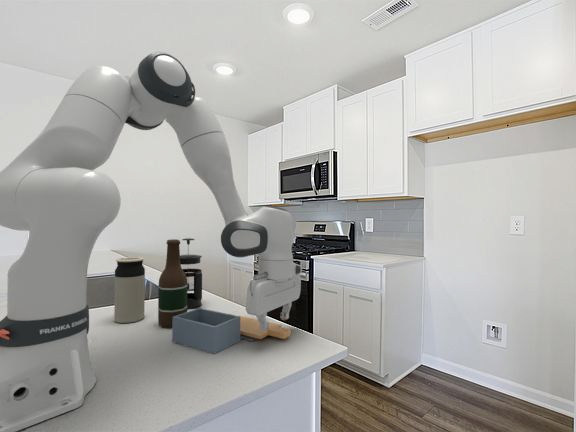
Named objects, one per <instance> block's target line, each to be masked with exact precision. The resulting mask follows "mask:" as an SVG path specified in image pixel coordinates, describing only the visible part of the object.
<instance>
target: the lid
mask: <svg viewBox="0 0 576 432" xmlns="http://www.w3.org/2000/svg"><path fill="white" fill-rule="evenodd" d="M239 316H240V334H242V335H246V336H250V337H254V338H258V339H257V340H262V339H264V338H266V337H268V336H271V337H274V338H278V339H283V340H285V339H286V338H288V337H290V336H291V334H292V333H291V331H292V330H291V329H289V328H285V327H282V324H280V323H276V322H275V323H274V322H270V321H268V322H269V329H267V330H265V331H263V330H260V323H259V321H258V319H257V318H253V317H247V316H243V315H239Z"/></svg>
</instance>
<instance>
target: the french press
mask: <svg viewBox="0 0 576 432" xmlns="http://www.w3.org/2000/svg"><path fill="white" fill-rule="evenodd" d="M195 240H196V239H195V238H190V237H187V238H183V239H181V241H186V245H187V254H180V263H181V265H182V266H183V265H185V266H186V265H187V268H182V270H183V271H184V272H185V274H186V277H187V311H188V310H195V309H198V308H201V307H202V305H203V303H202V299H203V270H202V269H200V268H189V265H196V264H200V263H201V258H202V257H203V256H202V255H198V254H190V244H191V241H195ZM189 278H193V283H192V284H191V283H189Z"/></svg>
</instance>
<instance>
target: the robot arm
mask: <svg viewBox="0 0 576 432" xmlns="http://www.w3.org/2000/svg"><path fill="white" fill-rule="evenodd" d="M61 99H62V100H61V102H60V103H59V105H58V106H57V108H56V110H55V111H54V112H53V115H52V116H51V117H50V119H49V121H48V123H47V124H46V126H45V127H44V128H43V130H42V131H41V133H39V134H38V135H37V137H36V138H35V139H34V140H33V141H32V142H31V143H29V145H28V146H26V147H25V149H23V150H22V151H21V152H20V153H19V154H18V155H17V156H16V157H15V158H14V159H13V160H12V161H11V162H10V163H9V164H8V165H7V166H5V168H3V169H2V170H1V171H0V226H1V227H3V228H7V229H11V230H14V231H22V232H23V231H24V232H25V231H26V232H28V231H29V237H28V239H27V243H26V246H25V248H24V250H23V253H22V254H21V256H20V257H19V259H17V260H15V262H14V263H12V265H11V266H10V267H9V269H8V271H7V289H6V293H7V294H6V295H7V298H6V299H7V301H6V302H7V305H6V308H7V309H6V312H7V313H6V315H5V317H3V319H1V320H0V432H18V431H20V430H24V429H26V428H28V427H32V426H33V425H36V424H39V423H42V422H43V421H46V420H47V421H48V420H49V419H51V418H54V417H55V418H56V417H57V416H60V415H62V414H65V413H67V412H68V413H69V412H70V411H72V410H75V409H77V408H79V407H81V406H82V405H83V403H84V401H85V397H86V395H87V394H88V393H89V392H90V391H91V390H92V389H93V388H94V387H95V384H96V382H97V378H96V374H95V371H94V368H93V366H92V361H91V355H90V350H89V348H90V347H89V342H88V334H89V331H90V306H89V305H88V304H87V288H88V287H87V285H88V284H87V283H88V267H89V264H90V263H89V261H90V258H91V254H92V251H93V249H94V246H95V244H96V242H97V240H98V239H99V236H100V235H101V233H102V232H103V231H104V230H105V229H106V228H107V227H108V226H109V225H111V224H112V223H113V222H114V220H115V219H116V218H117V217H118V214H119V212H120V208H121V194H120V190H119V188H118V186H117V184H116V182H115V181H114V180H113V178H111V177H110V176H108V174H106V173H104V172H100V171H96V169H98V168H100V167H101V166H103V165H104V164H105V163H106V162H107V161H108V160H109V159H110V157H111V155H112V153H113V151H114V148H115V146H116V144H117V142H118V140H119V137H120V135H121V133H122V131H123V128H124V126H125V124H127V125H128V126H129V127H132V128H134V129H137V130H141V131H151V130H154V129H156V128H158V127H159V126H161V125H162V124H163V123H164V121H165V122H166V123H168V125H169V126H170V127H171V128H172V129H173V130H174V132H175V134H176V136H177V140H178V143H179V145H180V148H181V150H182V153H183V155H184V158H185V159H186V161H187V163H188V165H189V166H190V169H192V171H193V173H194V174H195V175H196V176H197V177H198V178H199V179H200V180H201V181H203V183H204V184H205V185H206V187H208V189H209V190H210V192H211V193H212V195H213V196H214V198H215V200H216V201H215V202H216V203H217V206H218V208H219V211H220V213H221V215H222V217H223V221H224V224H225V226H224V227H223V229H222V232H221V233H220V244H221V246H222V248H223V250H224V251H225V252H226V254H228V255H230V256H232V257H233V258H243V259H244V258H247V257H250V256H255V255H257V256H258V260H257V261H258V264H257V265H258V267H257V268H258V271H257V274H254V275H253V276H252V278H251V280H250V281H249V285H248V287H247V290H246V292H247V293H246V299H245V300H246V301H245V312H246V313H247V314H248V315H251V316H255V317H256V319H258V321H259V323H260V330H263V331H265V330H267V329H269V322H270V321H268V320H267V318H266V317H267V316H268V313H269V312H271V311H274V310H275V309H278V308H281V307H282V310H281V312H280V314H279V315H280V320H283V321H286V320H288V319H289V318H290V311H291V308H292V305H293V304H292V302H294V301H297V300H298V299H299V298H300V295H301V289H302V288H301V287H302V285H301V284H302V278H301V274H302V271H303V267H302V265H301V264H298V263H296V262H294V254H293V249H292V248H293V244H294V224H293V223H294V222H293V218H292V217H293V216H292V215H291V213H290V212H289V211H288V210H287V209H286V208H283V207H277V206H273V205H272V206H271V205H264V206H262V207H261V208H260V209H258V210H256V211H255V212H251V214H248V213H247V212H246V209H245V207H244V205H243V203H242V200H241V198H240V195H239V193H238V190H237V188H236V184H235V181H234V174H233V165H232V159H231V153H230V149H229V144H228V140H227V139H226V137H225V134H224V130H223V128H222V126H221V123H220V122H219V120H218V119H217V116H216V114H215V113H214V111H213V109H212V108H211V106H210V105H209V103H208V101H206V100H205V99H204V98H203V97H199V96H196V88H195V84H194V83H193V82H192V78H191V77H190V74H189V72H188V71H187V69H186V68H185V66H184V65H183V64H182V62H180V60H179V59H177V58H176V57H175V56H173V55H172V54H169V53H167V52H164V51H155V52H151V53H150V54H147V55H146V56H145V57H143V59H142V60H141V61H140V62H139V64H138V66H137V68H136V69H135V70H134V71H133V73H132V74H131V76H129V75H123V74H122V73H121V72H120V71H118V70H116V69H115V68H112V67H110V66H106V65H101V64H99V65H93V66H90V67H88V68H87V69H86V70H85V71H84V72H82V74H81V75H80V76H78V77H77V78H76V79H75V81H74V82H73V83H72V84H71V86H70V87H69V88H68V90H67V91H66V93H65V94H64V96H63V98H61Z"/></svg>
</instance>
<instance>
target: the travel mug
mask: <svg viewBox="0 0 576 432" xmlns="http://www.w3.org/2000/svg"><path fill="white" fill-rule="evenodd" d="M144 260H145V258H144V257H140V256H130V257H129V256H125V257H119V258H116V259H115V262H116V265H117V266H116V268H115V270H114V312H113V314H114V319H113V320H114V322H116V323H119V324H131V323H132V324H133V323H136V322H139V321H141V320H143V319H144V318H145V297H146V296H145V292H146V291H145V290H146V289H145V287H146V284H145V279H146V269H145V267H144V265H143V264H144V263H143V262H144Z"/></svg>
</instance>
